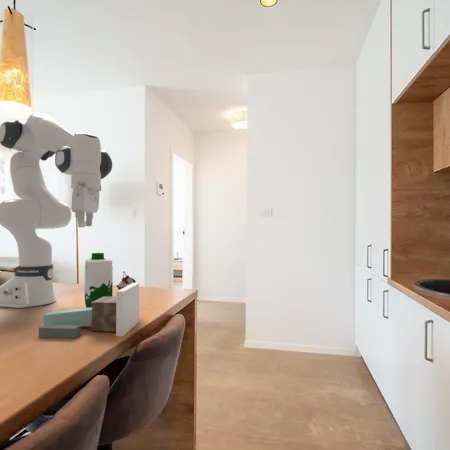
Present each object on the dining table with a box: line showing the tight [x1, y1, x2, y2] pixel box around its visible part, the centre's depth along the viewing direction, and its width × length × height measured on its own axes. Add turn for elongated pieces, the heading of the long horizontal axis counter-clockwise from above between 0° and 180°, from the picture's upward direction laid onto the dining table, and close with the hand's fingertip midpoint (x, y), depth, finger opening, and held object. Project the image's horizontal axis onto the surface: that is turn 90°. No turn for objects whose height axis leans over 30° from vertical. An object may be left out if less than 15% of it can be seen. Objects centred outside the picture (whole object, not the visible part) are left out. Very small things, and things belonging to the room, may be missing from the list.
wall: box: [115, 282, 140, 337], centre depth 102 cm, size 2×14×12 cm, turn 177°
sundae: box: [115, 270, 137, 291], centre depth 115 cm, size 7×7×15 cm
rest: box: [38, 324, 82, 339], centre depth 95 cm, size 10×3×2 cm, turn 87°
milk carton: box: [84, 252, 114, 308], centre depth 120 cm, size 9×9×20 cm
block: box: [91, 296, 116, 332], centre depth 102 cm, size 8×8×8 cm
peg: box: [42, 307, 92, 326], centre depth 103 cm, size 18×4×4 cm, turn 91°
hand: (85, 226), depth 114 cm, fingers open, 8 cm apart
